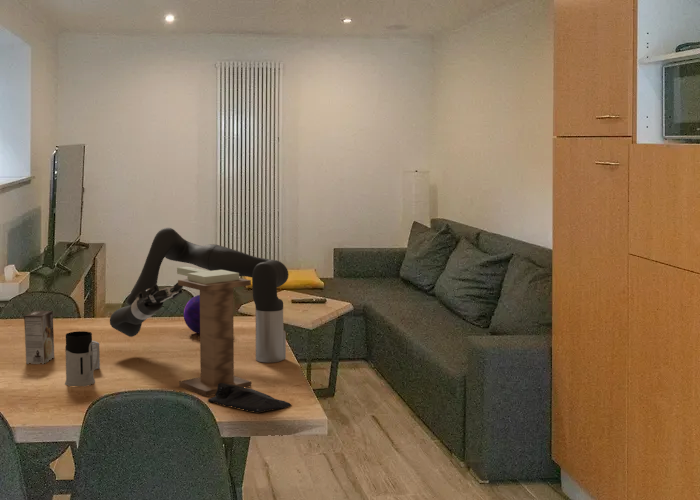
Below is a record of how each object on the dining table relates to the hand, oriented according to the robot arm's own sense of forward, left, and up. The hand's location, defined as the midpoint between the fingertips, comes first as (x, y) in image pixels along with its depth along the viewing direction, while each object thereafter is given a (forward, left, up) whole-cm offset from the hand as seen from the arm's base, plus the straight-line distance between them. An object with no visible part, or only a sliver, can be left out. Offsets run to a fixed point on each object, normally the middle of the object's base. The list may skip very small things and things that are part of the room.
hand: (169, 285), depth 277 cm
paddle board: (0, +18, +5) cm, 19 cm away
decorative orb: (-38, -38, -27) cm, 60 cm away
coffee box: (+26, -38, -27) cm, 54 cm away
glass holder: (+28, -2, -27) cm, 39 cm away
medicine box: (+20, -18, -27) cm, 38 cm away
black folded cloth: (+2, +45, -28) cm, 53 cm away
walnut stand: (0, +25, -27) cm, 37 cm away
